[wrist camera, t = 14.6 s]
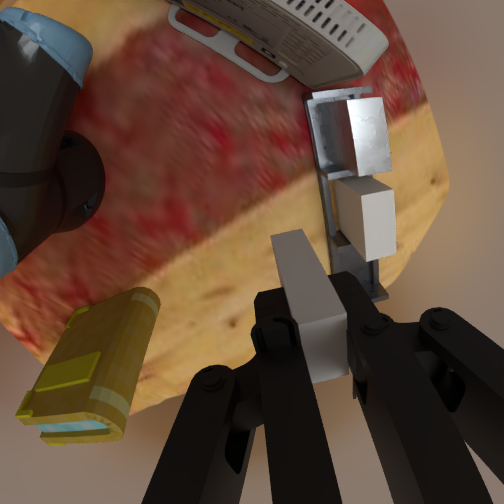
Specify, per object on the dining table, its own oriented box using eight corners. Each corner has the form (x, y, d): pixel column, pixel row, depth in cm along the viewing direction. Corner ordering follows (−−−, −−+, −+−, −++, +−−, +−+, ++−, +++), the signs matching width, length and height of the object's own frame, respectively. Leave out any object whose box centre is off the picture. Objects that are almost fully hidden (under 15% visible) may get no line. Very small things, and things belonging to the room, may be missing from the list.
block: (338, 227, 44) (366, 261, 34) (331, 174, 41) (360, 195, 31) (363, 222, 44) (396, 254, 34) (357, 169, 41) (393, 189, 31)
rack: (333, 291, 50) (355, 336, 39) (301, 95, 37) (326, 89, 26) (375, 280, 49) (404, 321, 39) (354, 88, 36) (394, 83, 26)
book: (95, 337, 52) (49, 445, 29) (75, 310, 49) (14, 415, 26) (168, 311, 50) (136, 441, 27) (147, 279, 47) (95, 406, 24)
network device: (333, 60, 35) (409, 28, 17) (296, 106, 37) (349, 101, 19) (180, -33, 27) (148, -110, 9) (141, 12, 30) (79, -46, 12)
